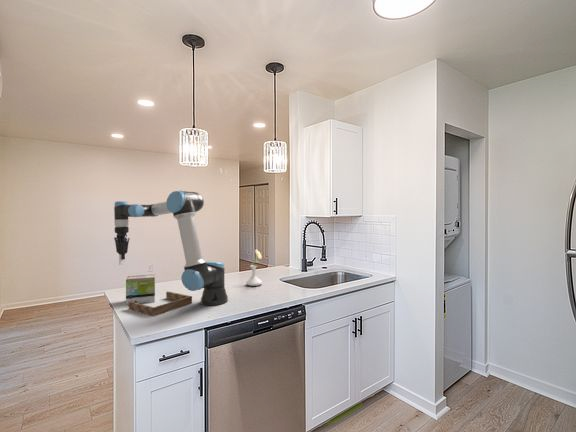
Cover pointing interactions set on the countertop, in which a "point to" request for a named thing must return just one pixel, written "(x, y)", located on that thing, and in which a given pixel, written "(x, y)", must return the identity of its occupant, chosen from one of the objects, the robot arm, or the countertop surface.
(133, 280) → the tea box
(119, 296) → the countertop surface
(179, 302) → the walnut bay
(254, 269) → the flower in vase
